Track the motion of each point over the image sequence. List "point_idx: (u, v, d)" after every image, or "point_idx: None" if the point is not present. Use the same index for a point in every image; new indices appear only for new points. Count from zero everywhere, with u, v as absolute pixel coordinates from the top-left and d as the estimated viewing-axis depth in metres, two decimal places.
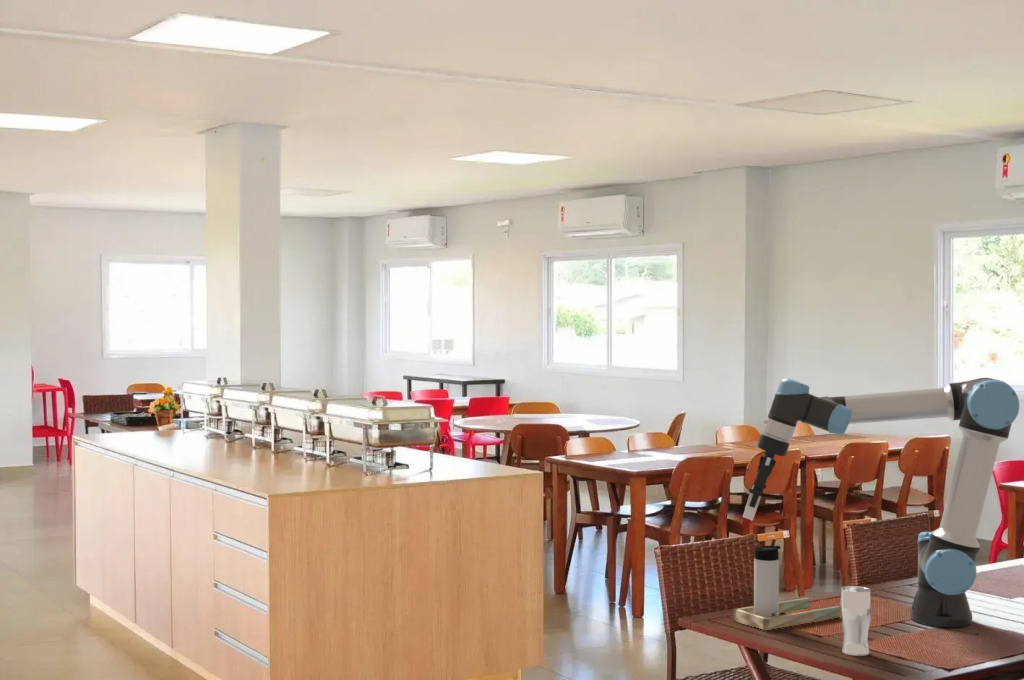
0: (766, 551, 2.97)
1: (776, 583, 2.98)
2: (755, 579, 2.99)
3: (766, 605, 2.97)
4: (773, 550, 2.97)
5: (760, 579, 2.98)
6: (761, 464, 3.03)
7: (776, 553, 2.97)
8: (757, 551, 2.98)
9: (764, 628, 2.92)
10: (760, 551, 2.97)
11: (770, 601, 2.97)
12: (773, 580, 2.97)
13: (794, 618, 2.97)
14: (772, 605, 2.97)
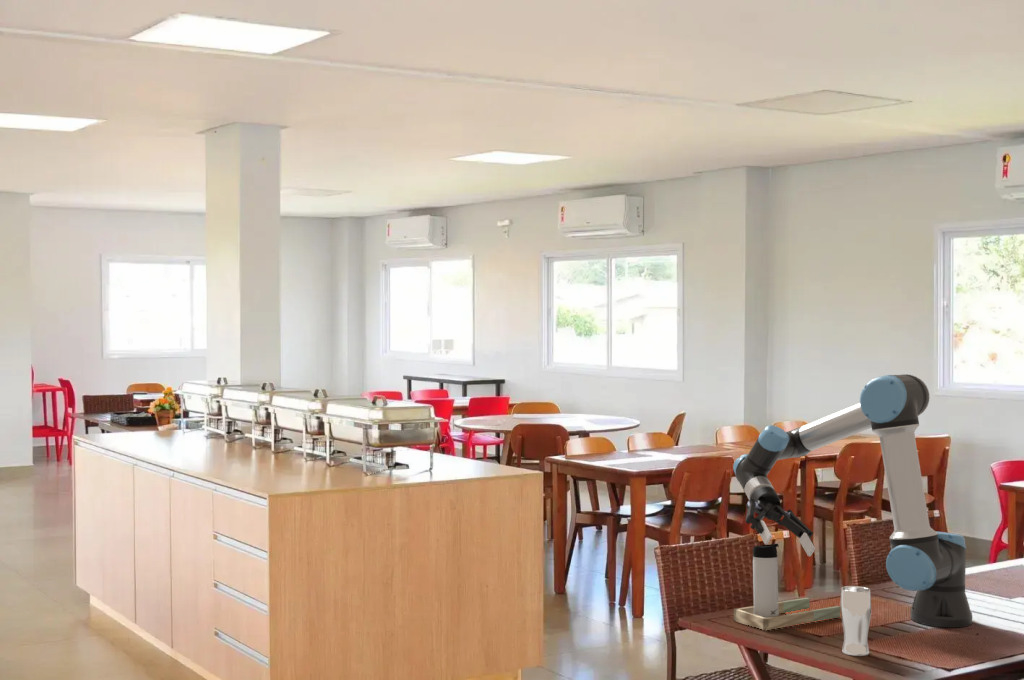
0: (764, 548, 2.98)
1: (775, 581, 2.98)
2: (754, 577, 3.00)
3: (765, 602, 2.97)
4: (771, 547, 2.98)
5: (758, 577, 2.98)
6: None
7: (774, 550, 2.99)
8: (755, 549, 3.00)
9: (764, 628, 2.92)
10: (758, 548, 2.99)
11: (770, 599, 2.97)
12: (772, 578, 2.98)
13: (794, 618, 2.97)
14: (771, 603, 2.97)
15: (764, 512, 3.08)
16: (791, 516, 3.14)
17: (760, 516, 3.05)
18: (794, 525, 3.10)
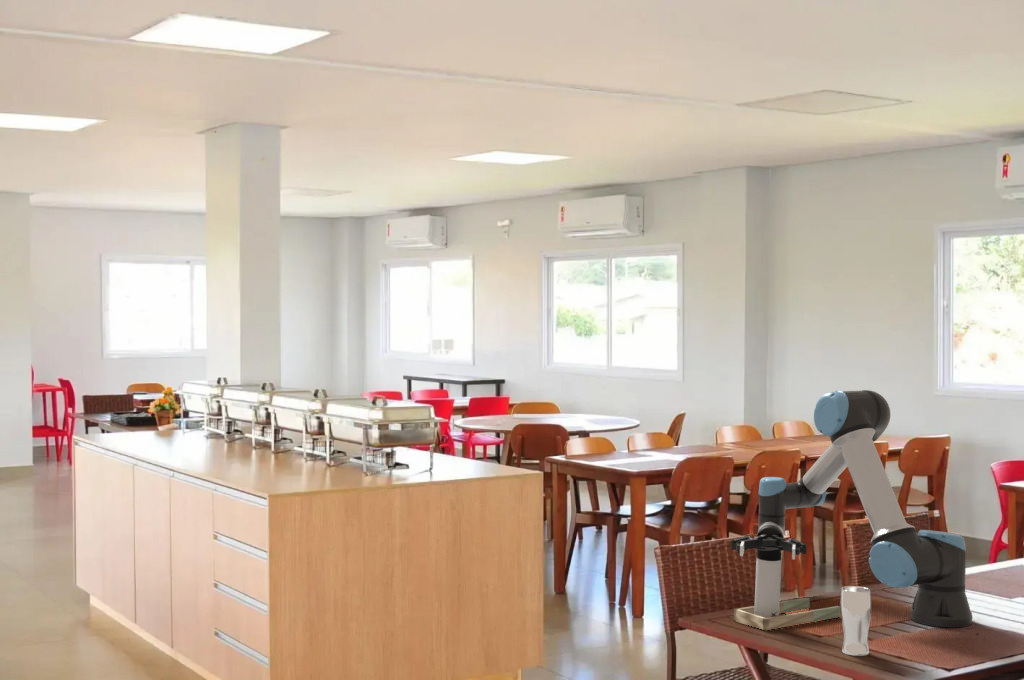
0: (769, 551, 2.96)
1: (777, 583, 2.97)
2: (757, 579, 2.99)
3: (766, 605, 2.97)
4: (776, 550, 2.96)
5: (761, 579, 2.97)
6: None
7: (779, 554, 2.97)
8: (760, 551, 2.98)
9: (764, 628, 2.92)
10: (763, 551, 2.97)
11: (771, 601, 2.97)
12: (774, 581, 2.96)
13: (794, 618, 2.97)
14: (772, 605, 2.97)
15: (753, 539, 3.21)
16: (791, 541, 3.21)
17: (744, 540, 3.19)
18: (787, 543, 3.17)
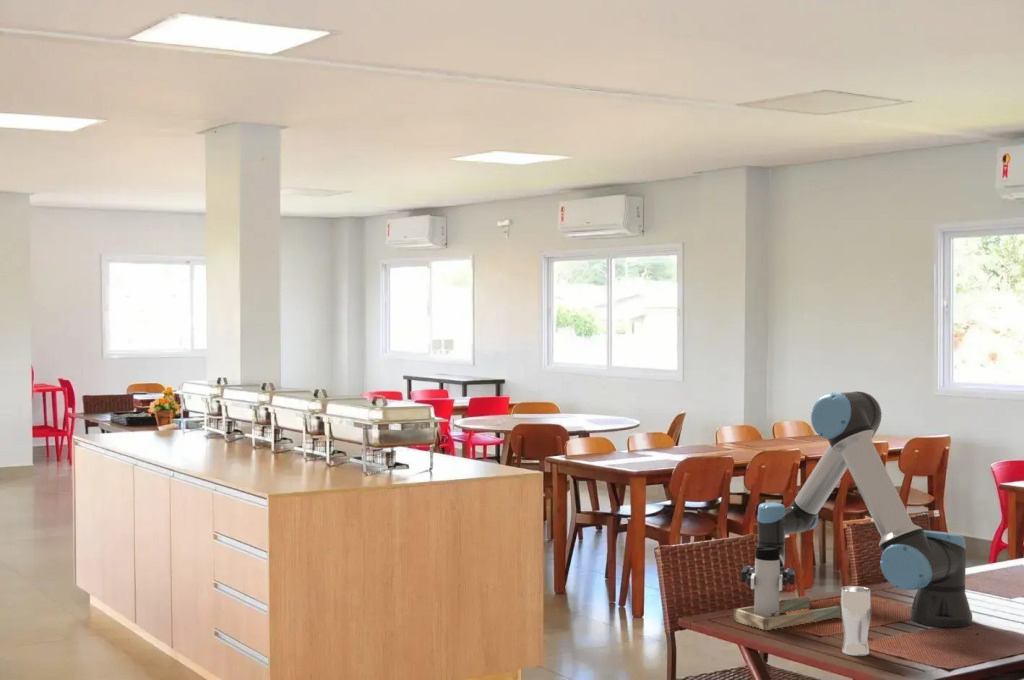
0: (767, 551, 2.97)
1: (776, 583, 2.97)
2: (755, 579, 2.99)
3: (765, 604, 2.97)
4: (774, 550, 2.97)
5: (760, 579, 2.98)
6: None
7: (777, 553, 2.97)
8: (758, 551, 2.98)
9: (764, 628, 2.92)
10: (761, 551, 2.98)
11: (770, 601, 2.97)
12: (773, 580, 2.97)
13: (794, 618, 2.97)
14: (772, 605, 2.97)
15: None
16: (788, 570, 3.08)
17: (752, 571, 3.04)
18: None
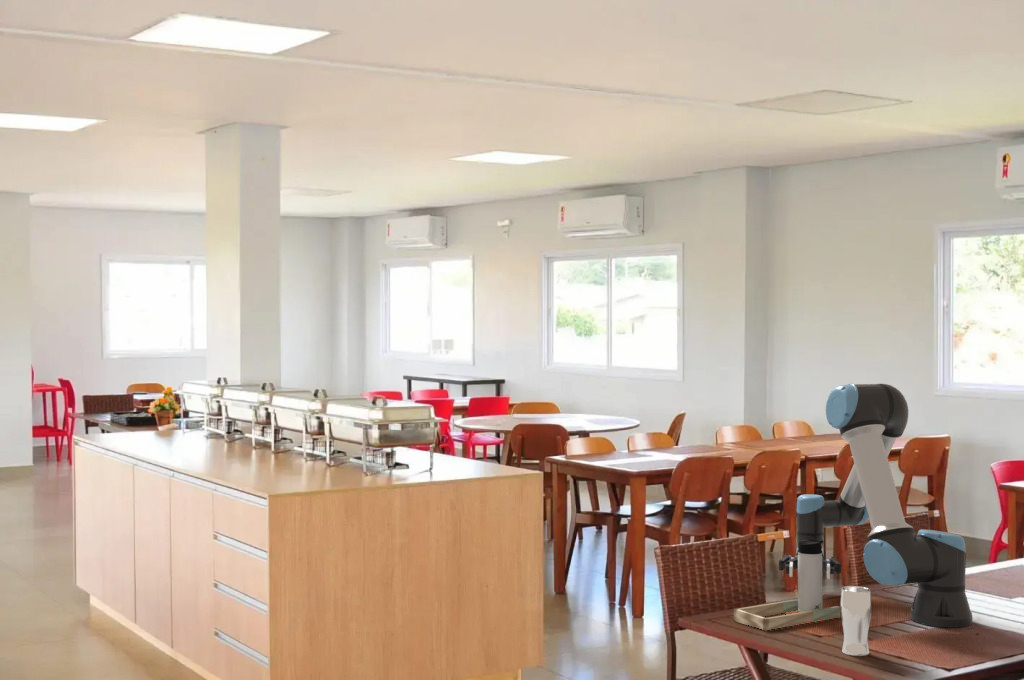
0: (809, 545, 3.04)
1: (819, 576, 3.05)
2: (799, 572, 3.07)
3: (809, 597, 3.04)
4: (816, 544, 3.04)
5: (803, 572, 3.05)
6: None
7: (819, 547, 3.05)
8: (800, 545, 3.06)
9: (764, 628, 2.92)
10: (803, 545, 3.05)
11: (814, 594, 3.04)
12: (816, 573, 3.04)
13: (794, 618, 2.97)
14: (816, 598, 3.04)
15: (797, 558, 3.15)
16: (830, 560, 3.16)
17: (791, 560, 3.13)
18: (823, 562, 3.12)
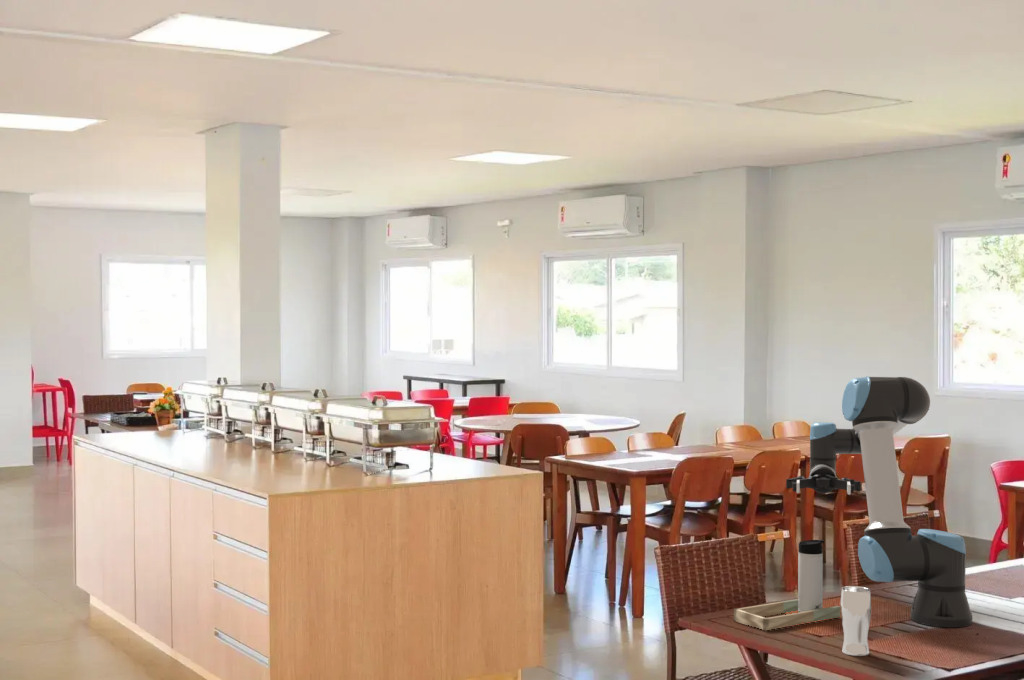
0: (810, 545, 3.04)
1: (820, 576, 3.05)
2: (799, 572, 3.07)
3: (810, 597, 3.04)
4: (817, 544, 3.04)
5: (804, 572, 3.05)
6: None
7: (820, 547, 3.05)
8: (801, 545, 3.06)
9: (764, 628, 2.92)
10: (804, 545, 3.05)
11: (814, 594, 3.04)
12: (816, 573, 3.04)
13: (794, 618, 2.97)
14: (816, 598, 3.04)
15: (807, 478, 3.31)
16: (844, 480, 3.31)
17: (799, 479, 3.29)
18: (841, 481, 3.27)
